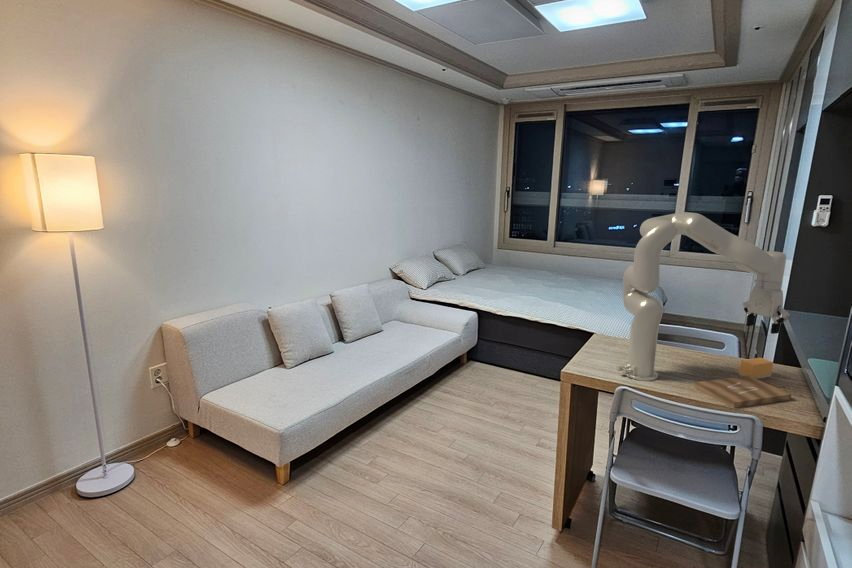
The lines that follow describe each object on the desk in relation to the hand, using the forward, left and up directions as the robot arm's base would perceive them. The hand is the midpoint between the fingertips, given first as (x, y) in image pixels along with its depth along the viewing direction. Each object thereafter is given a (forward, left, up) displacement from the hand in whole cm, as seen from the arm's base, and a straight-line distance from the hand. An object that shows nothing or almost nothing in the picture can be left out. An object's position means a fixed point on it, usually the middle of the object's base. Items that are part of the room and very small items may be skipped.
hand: (762, 329), depth 167 cm
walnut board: (-19, -11, -19) cm, 29 cm away
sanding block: (0, 0, -19) cm, 19 cm away
